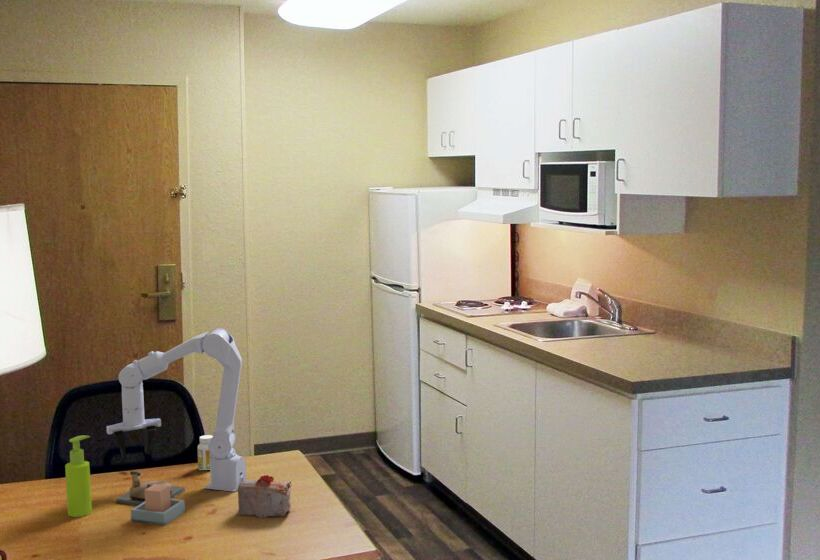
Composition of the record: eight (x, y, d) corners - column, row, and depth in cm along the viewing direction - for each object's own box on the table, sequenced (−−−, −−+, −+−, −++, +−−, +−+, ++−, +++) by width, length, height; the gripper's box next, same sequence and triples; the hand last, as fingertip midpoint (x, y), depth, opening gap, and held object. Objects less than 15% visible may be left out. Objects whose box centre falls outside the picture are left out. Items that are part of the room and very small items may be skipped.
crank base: (184, 490, 248) (184, 486, 248) (158, 507, 236) (158, 503, 236) (144, 486, 252) (143, 482, 252) (116, 502, 240) (115, 498, 240)
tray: (185, 511, 233) (184, 500, 233) (164, 525, 224) (164, 513, 223) (152, 507, 236) (152, 496, 235) (131, 521, 227) (130, 509, 226)
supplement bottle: (219, 465, 269) (218, 434, 268) (213, 471, 264) (212, 439, 263) (201, 465, 270) (200, 434, 269) (195, 471, 264) (194, 439, 263)
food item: (295, 508, 235) (294, 472, 234) (288, 520, 227) (287, 482, 226) (244, 506, 236) (243, 470, 235) (235, 518, 228) (234, 481, 227)
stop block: (170, 511, 231) (169, 485, 230) (161, 518, 227) (160, 491, 226) (155, 510, 232) (154, 484, 232) (145, 516, 228) (144, 490, 227)
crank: (179, 486, 247) (178, 468, 247) (157, 500, 237) (156, 481, 236) (142, 483, 251) (141, 465, 250) (119, 496, 240) (118, 477, 240)
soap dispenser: (99, 509, 235) (96, 435, 233) (80, 518, 229) (75, 442, 226) (82, 506, 237) (78, 432, 235) (62, 515, 231) (58, 439, 229)
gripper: (110, 414, 241) (112, 463, 243) (163, 406, 249) (165, 454, 250) (103, 408, 247) (106, 456, 249) (156, 401, 255) (158, 447, 256)
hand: (135, 455), depth 250 cm, fingers open, 6 cm apart
